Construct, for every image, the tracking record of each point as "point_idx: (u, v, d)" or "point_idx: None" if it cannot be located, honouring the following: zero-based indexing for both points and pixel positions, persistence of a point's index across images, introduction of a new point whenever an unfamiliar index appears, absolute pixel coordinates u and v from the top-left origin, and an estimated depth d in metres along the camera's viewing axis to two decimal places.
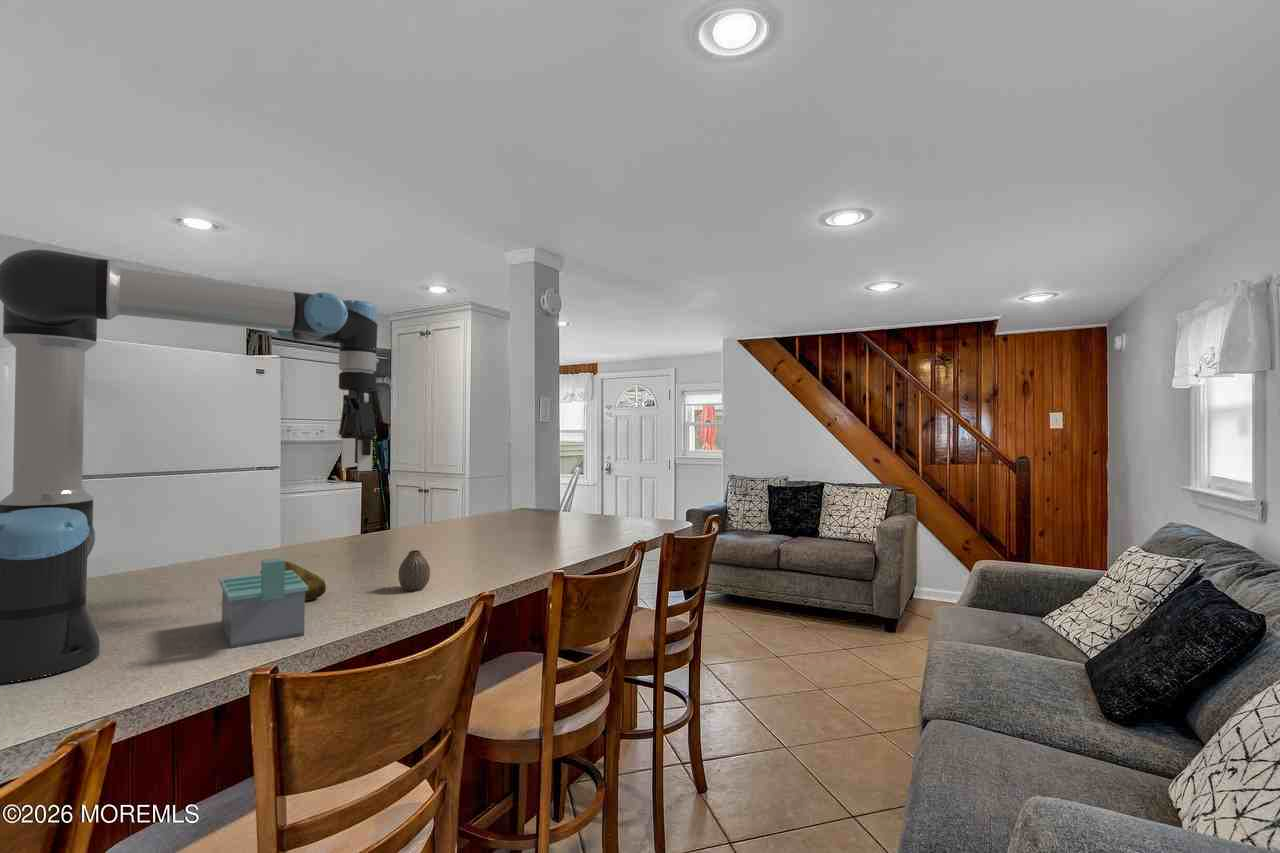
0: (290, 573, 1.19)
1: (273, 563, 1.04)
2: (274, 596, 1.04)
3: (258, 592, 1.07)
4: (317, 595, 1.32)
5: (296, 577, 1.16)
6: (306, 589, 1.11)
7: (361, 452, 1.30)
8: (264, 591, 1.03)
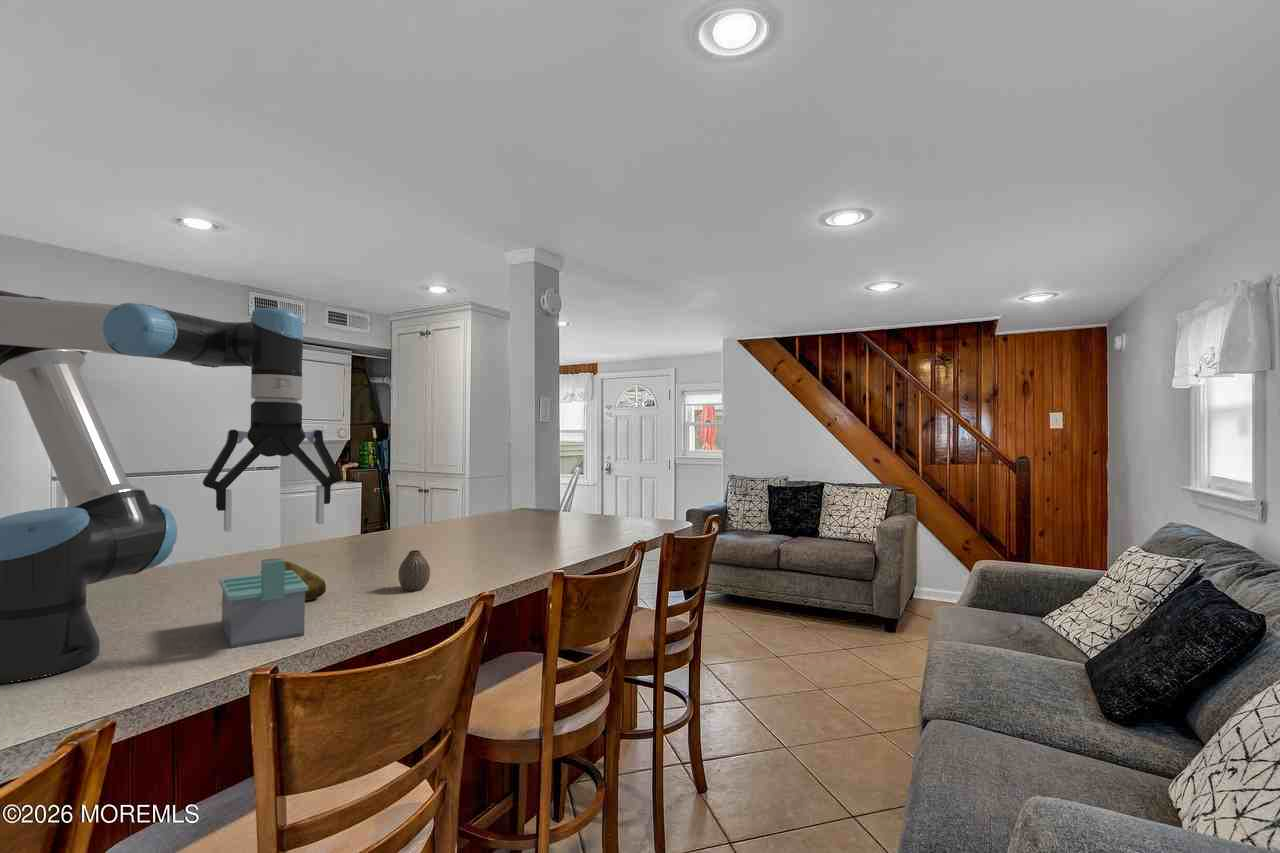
0: (290, 573, 1.19)
1: (273, 563, 1.04)
2: (274, 596, 1.04)
3: (258, 592, 1.07)
4: (317, 595, 1.32)
5: (296, 577, 1.16)
6: (306, 589, 1.11)
7: None
8: (264, 591, 1.03)
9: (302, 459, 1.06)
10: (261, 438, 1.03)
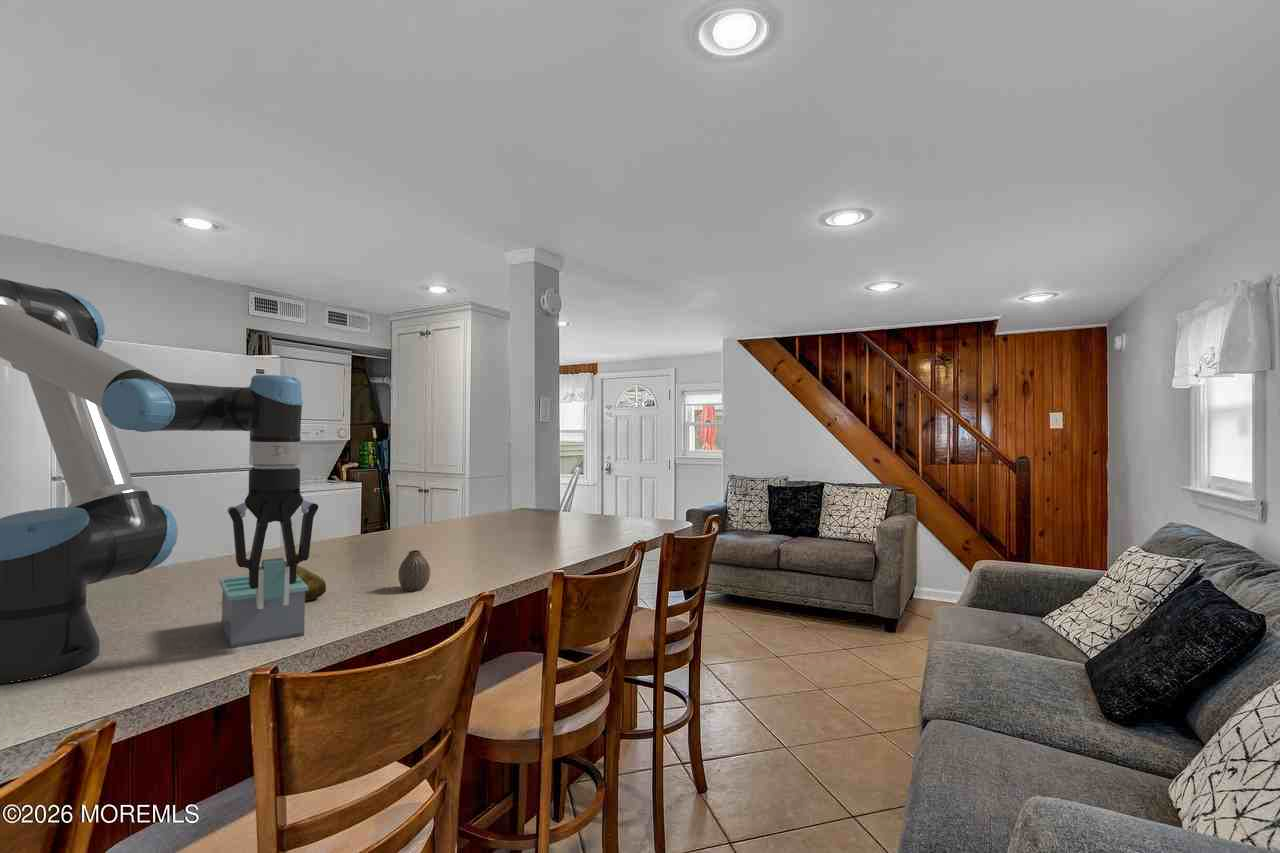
0: None
1: (273, 563, 1.04)
2: (274, 596, 1.04)
3: None
4: (317, 595, 1.32)
5: (296, 577, 1.16)
6: (306, 589, 1.11)
7: None
8: (264, 591, 1.03)
9: (285, 529, 1.05)
10: (260, 502, 1.03)
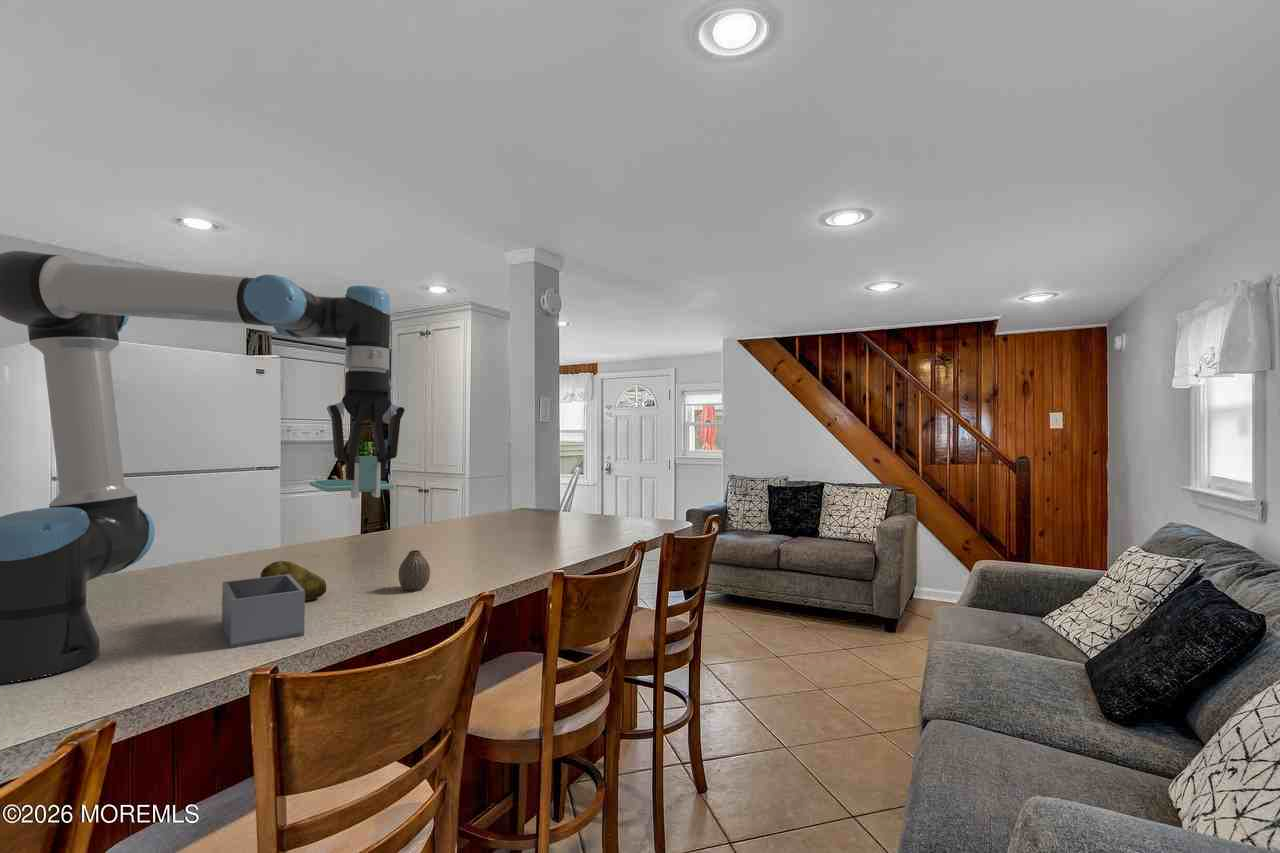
0: None
1: (367, 457, 1.14)
2: (368, 488, 1.14)
3: None
4: (317, 595, 1.32)
5: None
6: (392, 487, 1.21)
7: None
8: (360, 482, 1.14)
9: (377, 428, 1.16)
10: (356, 401, 1.13)
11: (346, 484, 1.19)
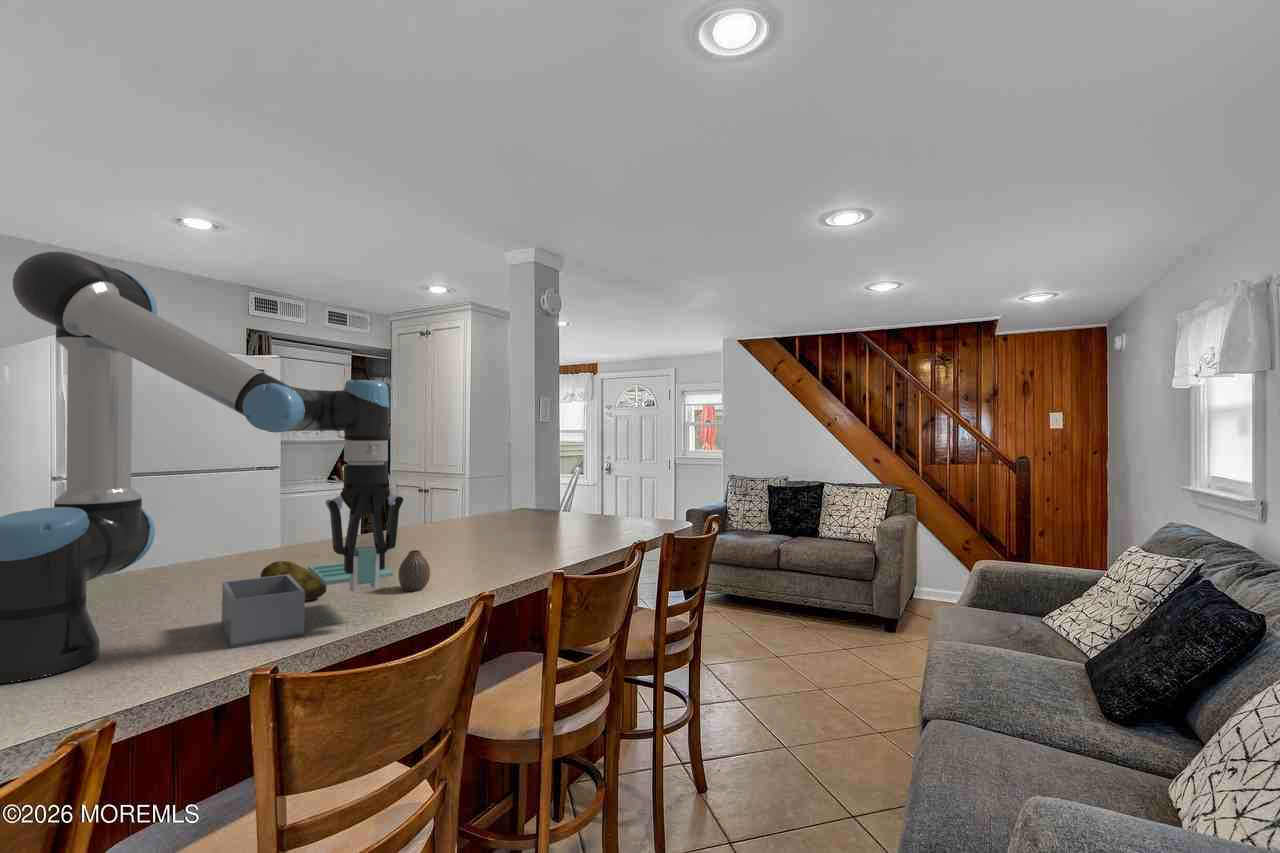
0: None
1: (366, 550, 1.14)
2: (367, 580, 1.15)
3: None
4: (318, 595, 1.32)
5: None
6: (391, 575, 1.21)
7: None
8: (358, 576, 1.14)
9: (376, 520, 1.16)
10: (354, 495, 1.13)
11: (345, 573, 1.19)
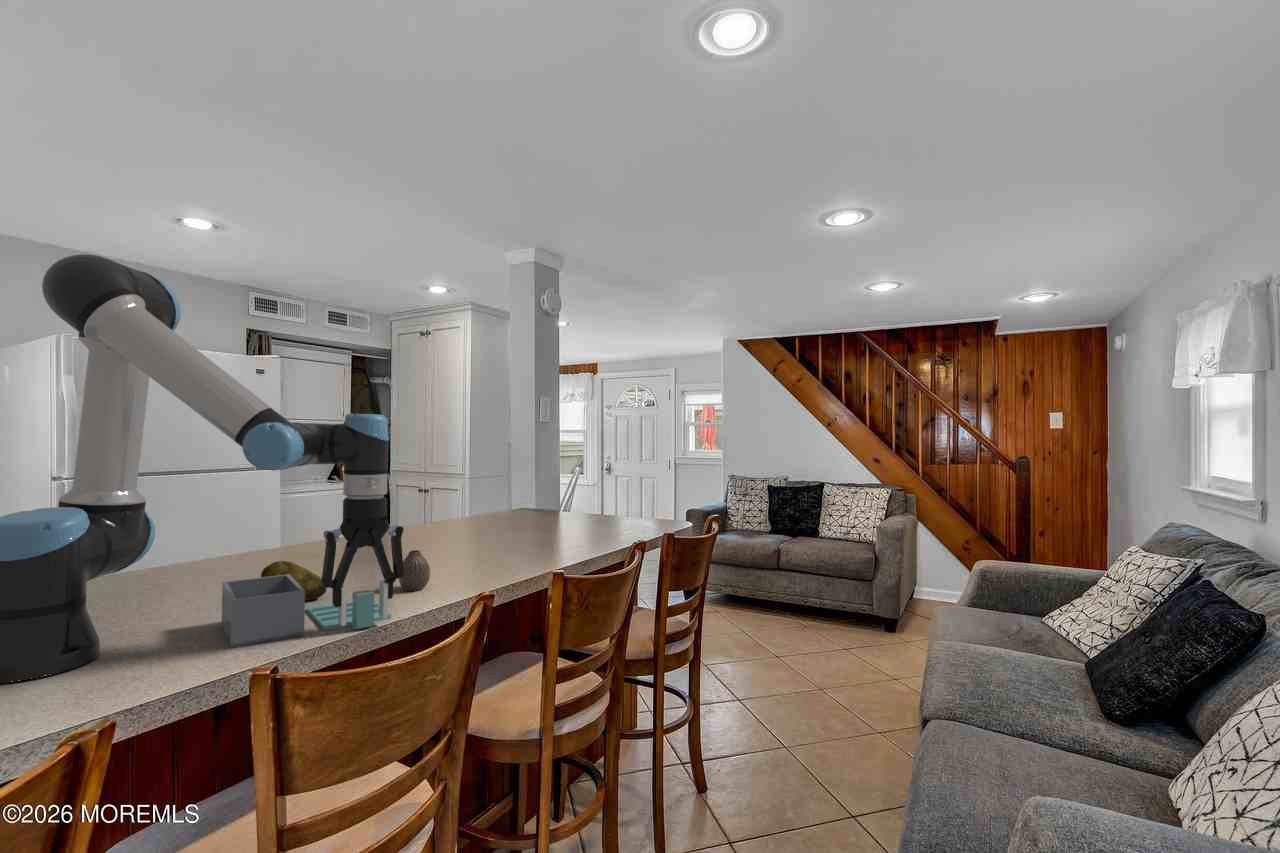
0: None
1: (364, 595, 1.14)
2: (365, 625, 1.14)
3: (348, 621, 1.17)
4: (318, 595, 1.32)
5: (376, 605, 1.27)
6: (389, 617, 1.21)
7: None
8: (357, 621, 1.14)
9: (379, 552, 1.16)
10: (353, 530, 1.13)
11: None
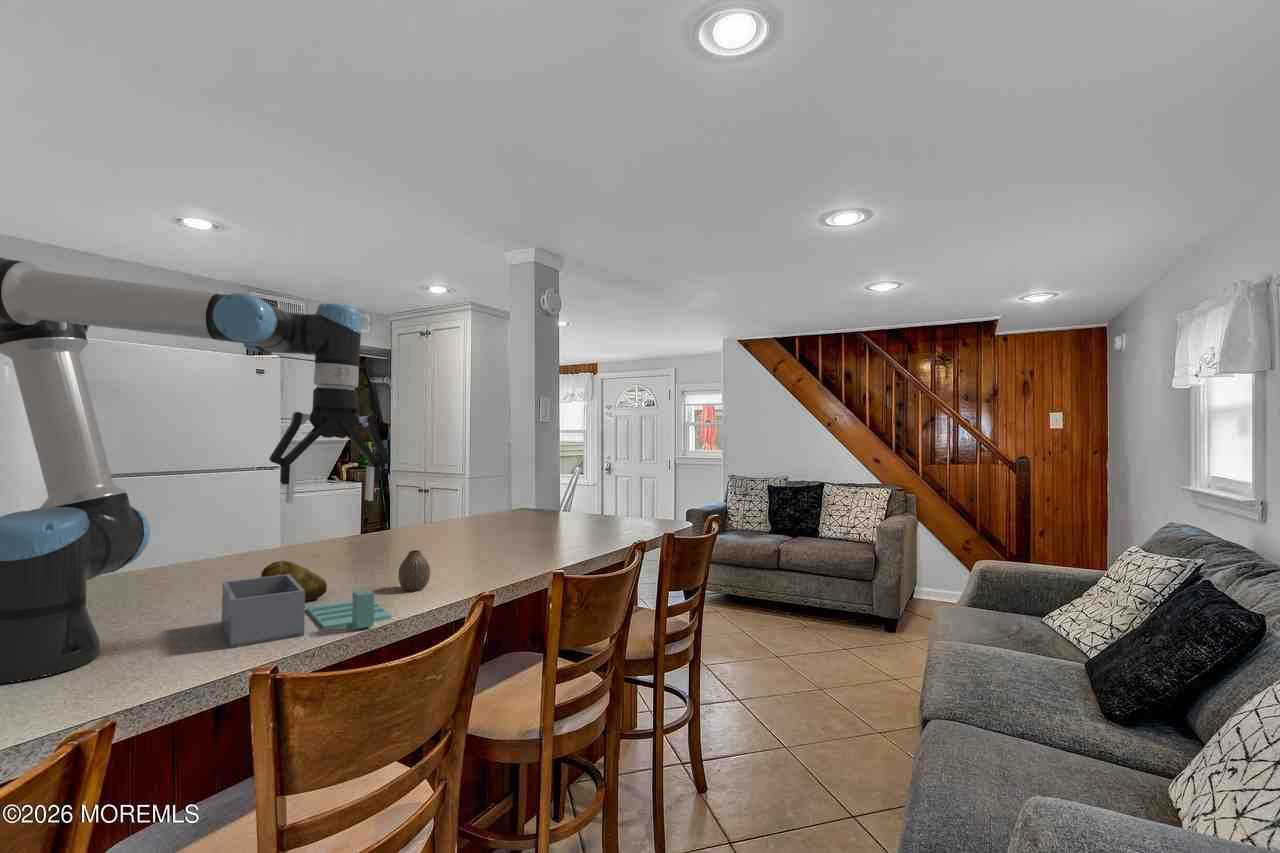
0: None
1: (364, 595, 1.14)
2: (365, 625, 1.14)
3: (348, 621, 1.17)
4: (318, 595, 1.32)
5: (376, 605, 1.27)
6: (389, 617, 1.21)
7: None
8: (357, 621, 1.14)
9: (356, 441, 1.18)
10: (322, 421, 1.14)
11: (343, 616, 1.19)
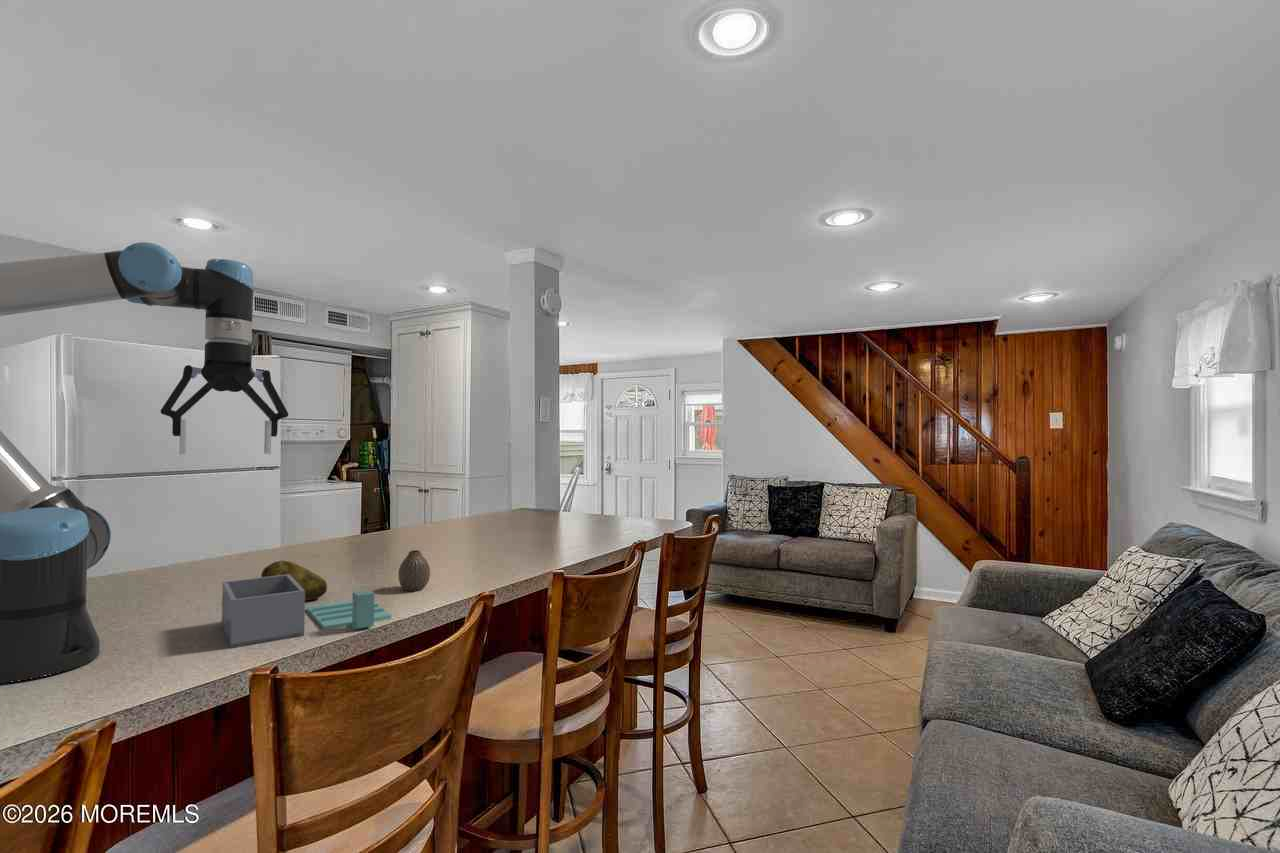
0: None
1: (364, 595, 1.14)
2: (365, 625, 1.14)
3: (348, 621, 1.17)
4: (318, 595, 1.32)
5: (376, 605, 1.27)
6: (389, 617, 1.21)
7: None
8: (357, 621, 1.14)
9: (251, 395, 1.20)
10: (213, 374, 1.16)
11: (343, 616, 1.19)
